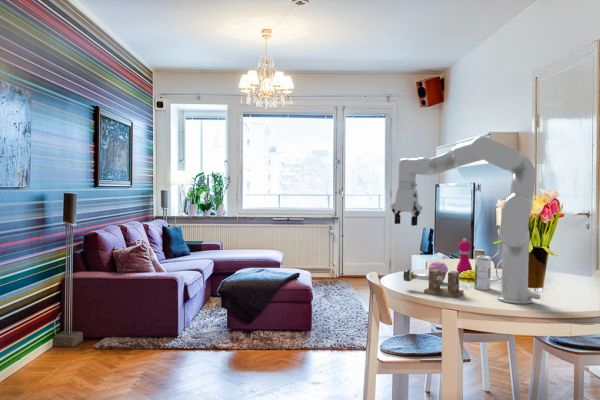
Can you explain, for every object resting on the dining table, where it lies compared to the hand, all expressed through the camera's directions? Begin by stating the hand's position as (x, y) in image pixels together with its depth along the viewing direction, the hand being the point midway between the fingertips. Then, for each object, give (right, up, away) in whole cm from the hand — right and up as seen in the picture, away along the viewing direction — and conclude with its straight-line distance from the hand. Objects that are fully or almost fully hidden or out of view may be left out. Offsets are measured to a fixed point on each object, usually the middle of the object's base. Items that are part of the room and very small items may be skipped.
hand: (405, 224), depth 211 cm
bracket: (+13, -29, -10) cm, 33 cm away
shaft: (+6, -25, -6) cm, 26 cm away
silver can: (+35, -29, +1) cm, 45 cm away
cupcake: (+19, -29, +15) cm, 37 cm away
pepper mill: (+36, -28, +27) cm, 53 cm away
